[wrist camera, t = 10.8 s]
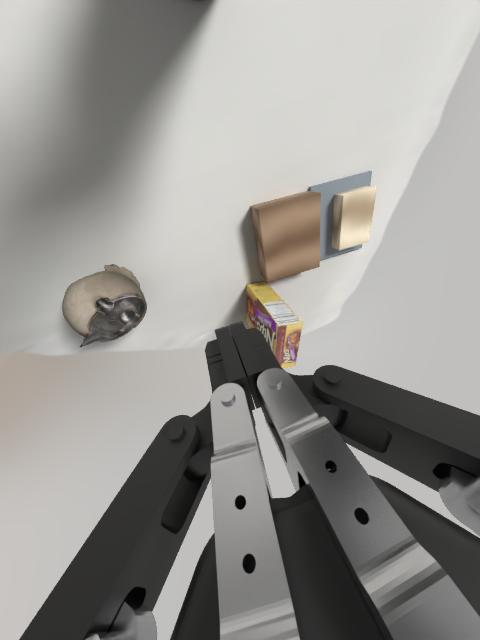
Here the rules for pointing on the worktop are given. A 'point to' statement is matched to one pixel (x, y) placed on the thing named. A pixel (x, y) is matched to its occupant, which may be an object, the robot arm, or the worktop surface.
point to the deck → (288, 234)
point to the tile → (352, 217)
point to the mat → (328, 205)
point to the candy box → (274, 322)
